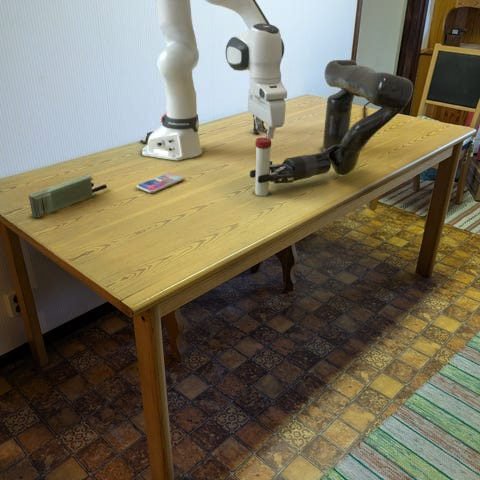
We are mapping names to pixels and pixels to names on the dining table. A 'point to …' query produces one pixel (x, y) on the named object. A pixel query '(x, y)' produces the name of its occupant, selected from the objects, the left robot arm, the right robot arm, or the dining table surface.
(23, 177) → the dining table surface
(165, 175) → the smartphone
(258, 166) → the white bottle
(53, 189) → the handheld radio
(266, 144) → the lid
